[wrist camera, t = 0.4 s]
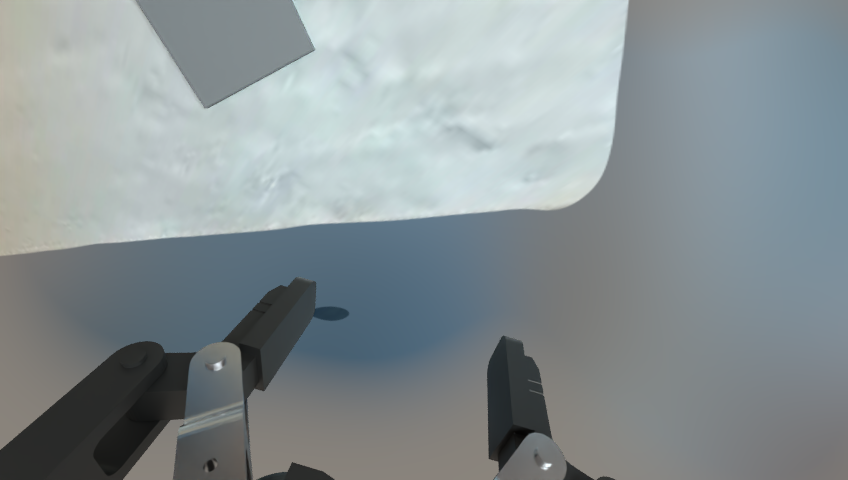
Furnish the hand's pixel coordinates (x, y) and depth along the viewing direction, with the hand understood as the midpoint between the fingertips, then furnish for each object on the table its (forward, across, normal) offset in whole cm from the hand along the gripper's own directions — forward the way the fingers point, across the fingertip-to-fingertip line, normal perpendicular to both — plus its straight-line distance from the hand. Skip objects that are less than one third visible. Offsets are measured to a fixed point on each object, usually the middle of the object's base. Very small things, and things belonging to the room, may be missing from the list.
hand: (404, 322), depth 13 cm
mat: (+28, +29, -8) cm, 41 cm away
